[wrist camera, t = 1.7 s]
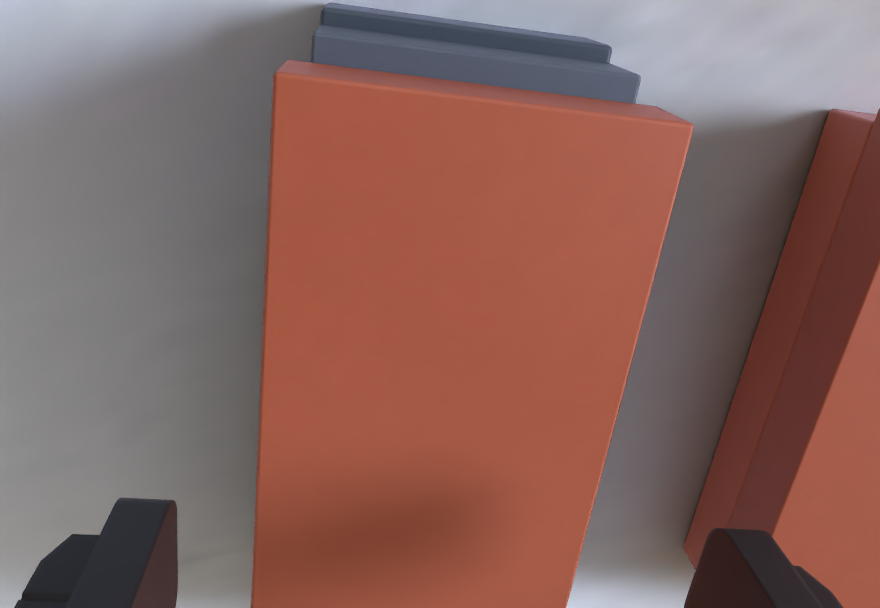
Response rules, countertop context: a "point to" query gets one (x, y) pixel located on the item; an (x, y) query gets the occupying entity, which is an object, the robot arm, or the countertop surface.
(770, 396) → the orange-red flat block
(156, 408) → the countertop surface
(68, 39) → the countertop surface
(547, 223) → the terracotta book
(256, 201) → the countertop surface
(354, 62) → the grey rectangular block
